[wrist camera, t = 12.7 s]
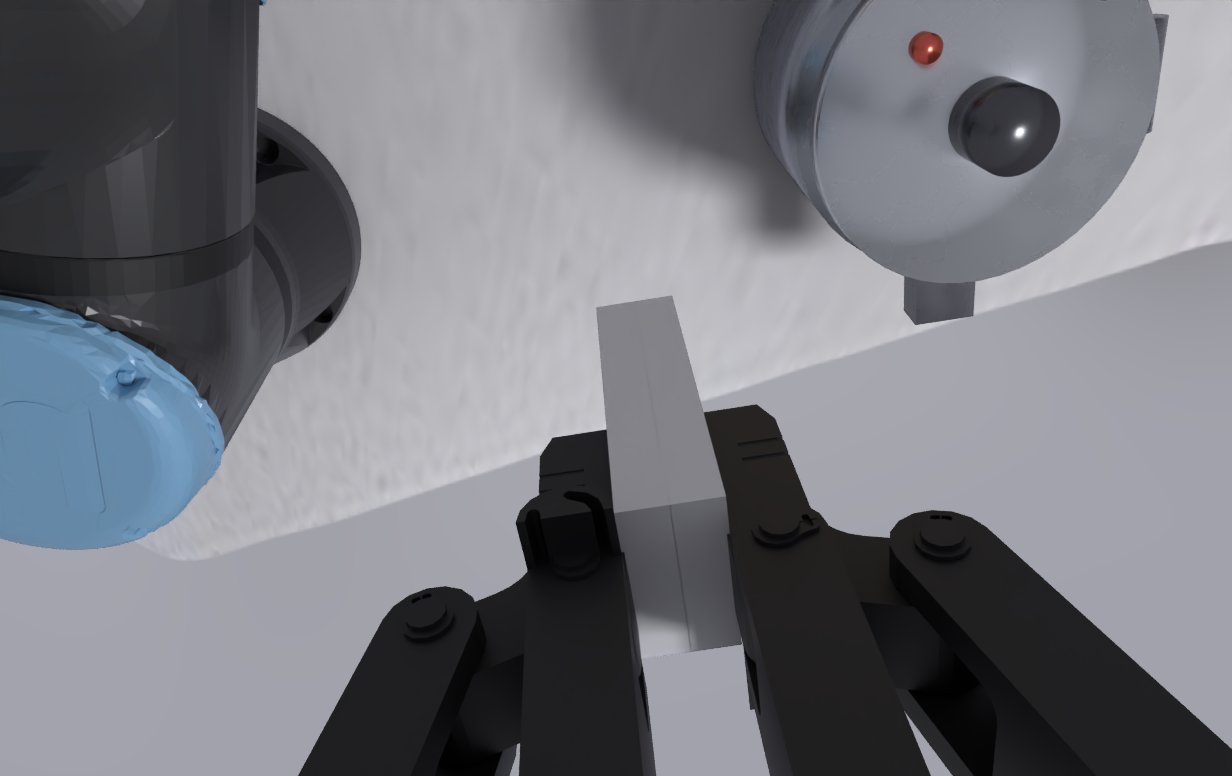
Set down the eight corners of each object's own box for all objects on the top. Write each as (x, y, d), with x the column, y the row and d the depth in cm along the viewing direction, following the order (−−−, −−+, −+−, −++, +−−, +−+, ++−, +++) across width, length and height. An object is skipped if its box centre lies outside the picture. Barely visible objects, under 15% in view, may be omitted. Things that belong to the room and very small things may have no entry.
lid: (815, 299, 43) (840, 331, 40) (801, -44, 36) (831, -38, 33) (1118, 243, 44) (1166, 270, 41) (1166, -108, 36) (1230, -107, 33)
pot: (766, 276, 55) (805, 352, 46) (737, -140, 44) (781, -144, 35) (1043, 233, 54) (1136, 301, 46) (1084, -199, 43) (1216, -217, 35)
